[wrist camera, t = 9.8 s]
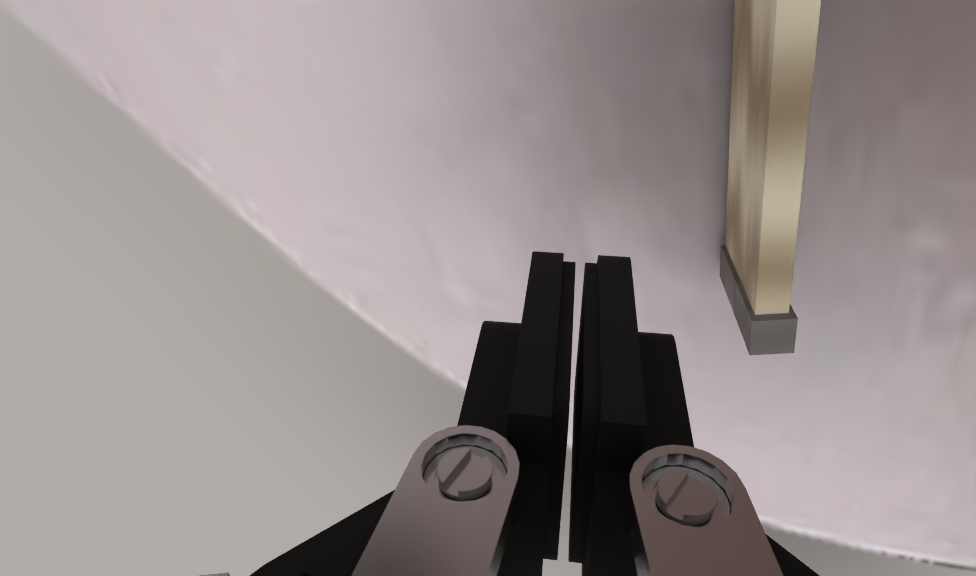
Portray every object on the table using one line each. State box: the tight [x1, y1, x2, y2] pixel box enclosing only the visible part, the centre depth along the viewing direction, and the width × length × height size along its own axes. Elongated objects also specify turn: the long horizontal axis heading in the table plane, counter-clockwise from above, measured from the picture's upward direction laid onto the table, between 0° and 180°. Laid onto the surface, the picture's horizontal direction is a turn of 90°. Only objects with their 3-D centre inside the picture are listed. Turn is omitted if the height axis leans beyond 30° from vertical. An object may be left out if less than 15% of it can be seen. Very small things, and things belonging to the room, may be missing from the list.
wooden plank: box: [720, 0, 821, 355], centre depth 22 cm, size 20×2×6 cm, turn 9°
